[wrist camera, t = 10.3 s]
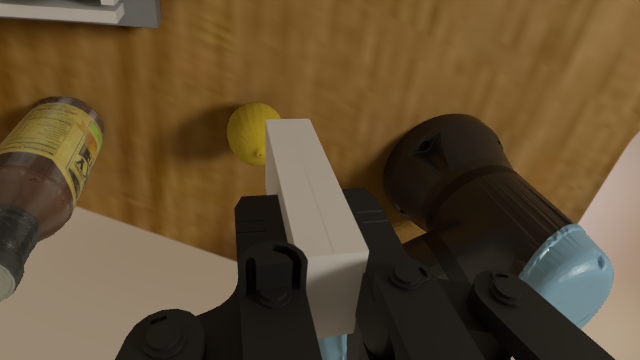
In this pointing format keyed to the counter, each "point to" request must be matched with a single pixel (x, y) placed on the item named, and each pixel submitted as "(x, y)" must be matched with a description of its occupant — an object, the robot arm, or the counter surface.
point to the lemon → (249, 132)
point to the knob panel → (85, 11)
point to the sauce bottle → (43, 178)
